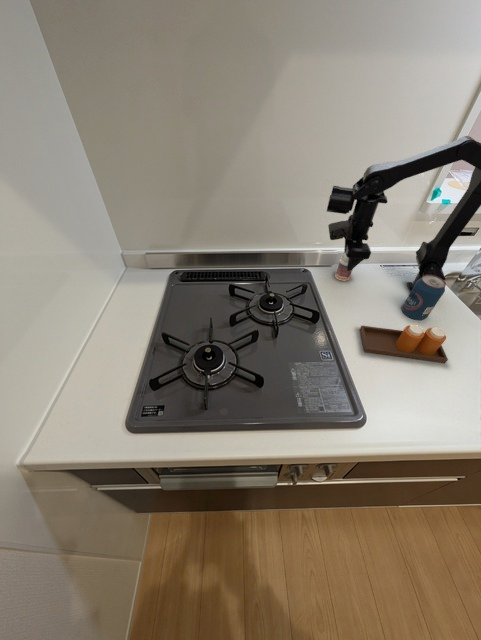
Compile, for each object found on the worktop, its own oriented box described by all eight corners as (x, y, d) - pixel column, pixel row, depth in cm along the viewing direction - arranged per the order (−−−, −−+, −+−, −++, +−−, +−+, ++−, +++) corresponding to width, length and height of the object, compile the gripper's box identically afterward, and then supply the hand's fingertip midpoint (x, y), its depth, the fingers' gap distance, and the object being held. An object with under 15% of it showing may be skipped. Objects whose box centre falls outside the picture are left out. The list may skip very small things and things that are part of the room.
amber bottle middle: (394, 338, 73) (404, 321, 69) (411, 340, 73) (423, 323, 68) (397, 351, 70) (409, 334, 66) (416, 353, 70) (428, 336, 65)
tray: (359, 330, 76) (361, 325, 75) (433, 340, 74) (437, 334, 73) (363, 353, 70) (366, 348, 69) (443, 364, 68) (448, 359, 67)
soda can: (395, 307, 83) (413, 274, 75) (416, 304, 84) (436, 272, 76) (409, 323, 78) (430, 290, 70) (431, 320, 79) (454, 287, 71)
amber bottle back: (413, 341, 73) (425, 323, 68) (431, 343, 72) (444, 326, 68) (418, 354, 70) (431, 337, 65) (437, 356, 69) (451, 339, 65)
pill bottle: (349, 282, 92) (357, 260, 86) (335, 280, 92) (342, 258, 86) (348, 273, 95) (356, 252, 89) (334, 272, 96) (341, 250, 90)
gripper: (331, 200, 86) (320, 245, 97) (336, 228, 73) (323, 276, 84) (368, 203, 85) (353, 248, 96) (380, 232, 72) (360, 280, 83)
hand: (347, 262), depth 90 cm, fingers open, 9 cm apart
